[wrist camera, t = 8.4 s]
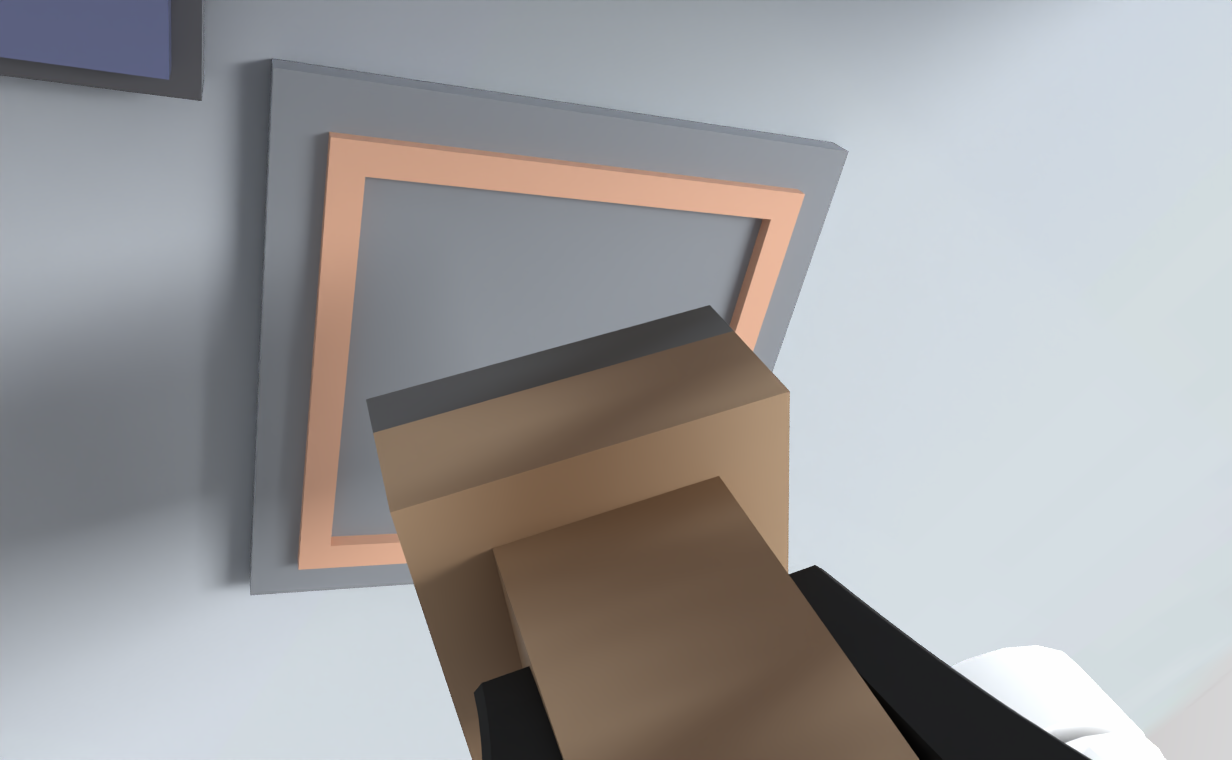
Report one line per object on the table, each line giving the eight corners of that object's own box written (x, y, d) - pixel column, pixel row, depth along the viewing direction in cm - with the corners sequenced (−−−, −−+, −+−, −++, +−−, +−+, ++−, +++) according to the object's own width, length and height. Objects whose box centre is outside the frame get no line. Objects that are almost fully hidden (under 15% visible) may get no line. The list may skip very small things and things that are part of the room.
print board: (833, 142, 19) (856, 156, 18) (696, 548, 24) (710, 571, 23) (272, 58, 15) (274, 72, 14) (250, 575, 20) (251, 605, 19)
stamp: (709, 304, 13) (1191, 827, 7) (722, 548, 16) (1066, 1086, 9) (366, 399, 12) (524, 1139, 5) (444, 643, 15) (611, 1325, 8)
